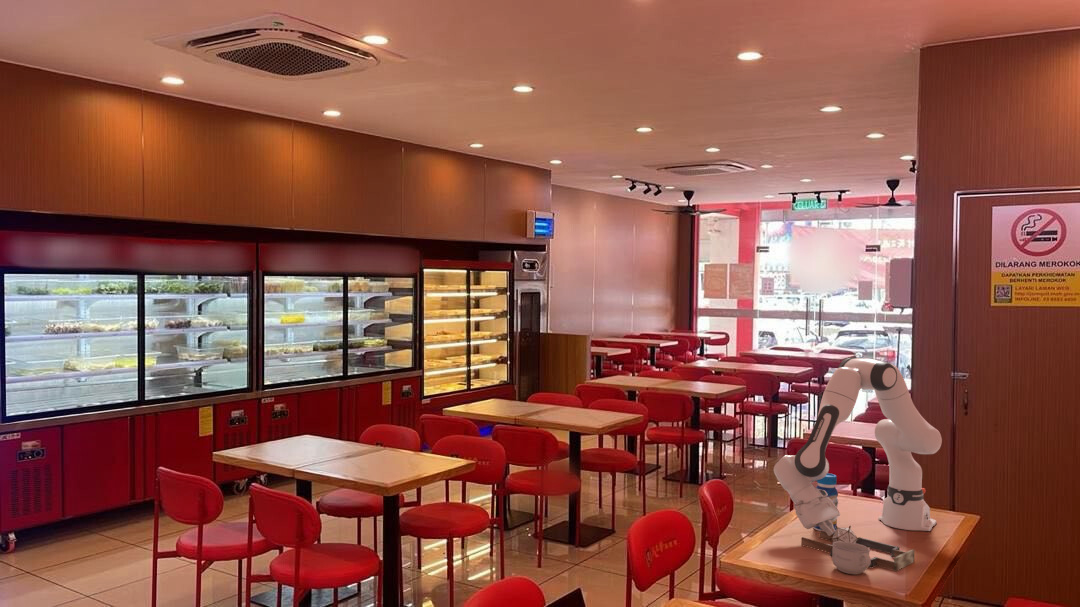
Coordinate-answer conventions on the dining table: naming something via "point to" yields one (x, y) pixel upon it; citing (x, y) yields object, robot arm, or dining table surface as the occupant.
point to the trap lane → (900, 557)
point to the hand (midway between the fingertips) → (832, 534)
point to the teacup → (850, 557)
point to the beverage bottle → (829, 492)
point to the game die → (844, 535)
